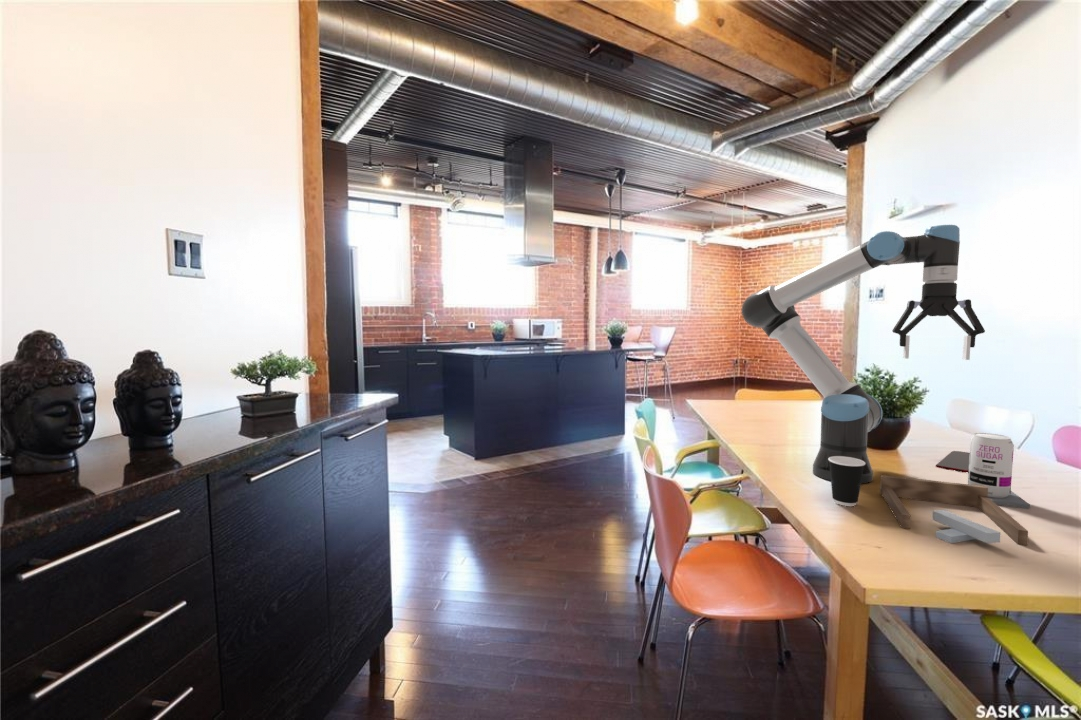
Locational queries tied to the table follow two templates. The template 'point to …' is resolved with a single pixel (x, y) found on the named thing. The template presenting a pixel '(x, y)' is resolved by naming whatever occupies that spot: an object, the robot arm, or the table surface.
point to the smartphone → (955, 461)
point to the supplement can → (991, 463)
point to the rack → (947, 501)
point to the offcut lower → (953, 536)
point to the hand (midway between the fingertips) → (935, 358)
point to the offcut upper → (966, 526)
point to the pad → (1011, 501)
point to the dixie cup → (846, 479)
